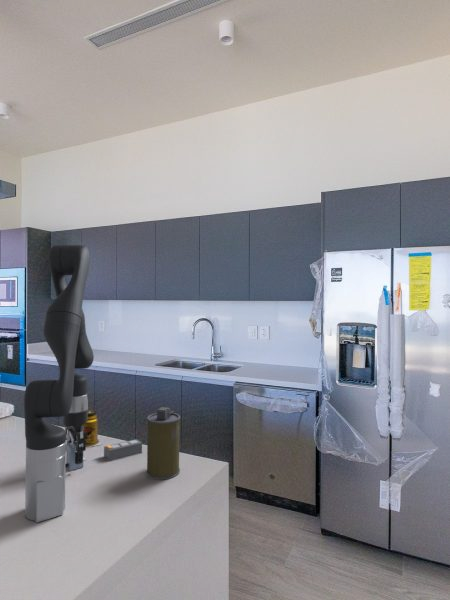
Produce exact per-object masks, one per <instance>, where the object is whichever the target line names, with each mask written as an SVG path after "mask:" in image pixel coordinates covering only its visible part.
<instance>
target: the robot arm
mask: <svg viewBox="0 0 450 600" xmlns="http://www.w3.org/2000/svg"><path fill="white" fill-rule="evenodd" d="M90 259H91V257H90V251H89V249H88V247H87V246H85V245H81V244H58V245H57V244H56V245H53V246H51V247H50V249H49V252H48V264H49V270H50V274H51V279H52V284H53V287H54V288H53V289H54V293H55V296H56V298H55V299H54V300H53V301H52V302H51V303H50V304H49V306H48V308H47V310H46V314H45V319H44V320H45V321H44V325H43V336H44V339H45V341H46V343H47V345H48V347H49V348H50V350H51V352H52V353H53V355H54V357H55V359H56V360H55V361H56V363H57V364H58V369H59V378H58V379H41V380H32V381H30V382H29V383H28V384H27V386H26V388H25V391H24V397H23V413H24V434H25V435H24V436H25V437H24V438H25V487H24V488H25V492H24V493H25V499H24V500H25V501H24V505H25V506H24V507H25V508H24V509H25V510H24V512H25V513H24V514H25V515H24V516H25V518H27V520H29V521H34V522H35V523H40V522H43V521H46V520H49V519H53V518H55V517H58V516H62V515H63V514H64V510H65V509H66V467H65V464H66V446H67V444H68V443H72V445H73V446H74V449H75V464H80V463H82V462H83V457H84V451H87V447H86V432H85V431H83V429H82V425H83V424H85V423H87V421H88V409H89V403H88V402H89V401H88V400H89V399H88V379H87V377H86V376H84V375H83V374H82V375H81V374H78V373H76V372H75V370H76V369H77V370H78V369H80V370H81V369H84V370H85V369H88V368H90V367H91V366H92V365H93V363H94V357H95V355H94V352H93V349H92V346H91V343H90V341H89V338H88V335H87V331H86V330H87V328H86V317H85V313H84V310H83V302H84V294H85V289H86V285H87V284H86V283H87V278H88V274H89V270H90V264H91V263H90V262H91V260H90ZM65 276H71V278H70V280H69V283H68V284H67V281H66V277H65ZM60 417H61V418H62V424H63V426H64V428H65V429H64V428H63V427H61V426H58V425H55V424H52V423H50V422H49V421H48V420H47V419H46V418H60ZM79 445H81V447H80V448H79ZM83 463H84V462H83Z"/></svg>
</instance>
